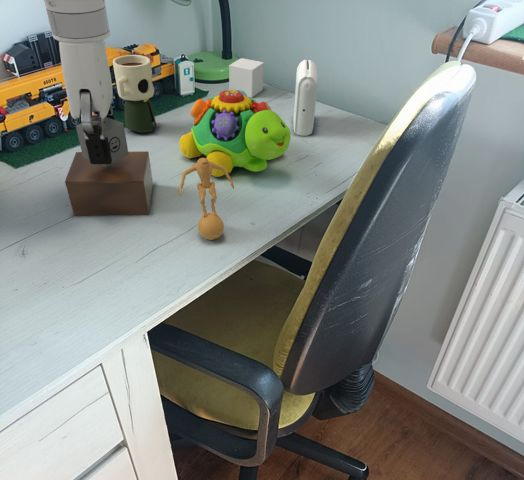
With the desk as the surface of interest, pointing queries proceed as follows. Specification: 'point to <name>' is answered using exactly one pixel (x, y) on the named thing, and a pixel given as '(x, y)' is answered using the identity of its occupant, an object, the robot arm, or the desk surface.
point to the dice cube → (115, 139)
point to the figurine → (209, 222)
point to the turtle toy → (235, 132)
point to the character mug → (135, 91)
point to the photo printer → (305, 97)
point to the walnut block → (110, 186)
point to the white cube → (246, 76)
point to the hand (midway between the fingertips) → (104, 151)
